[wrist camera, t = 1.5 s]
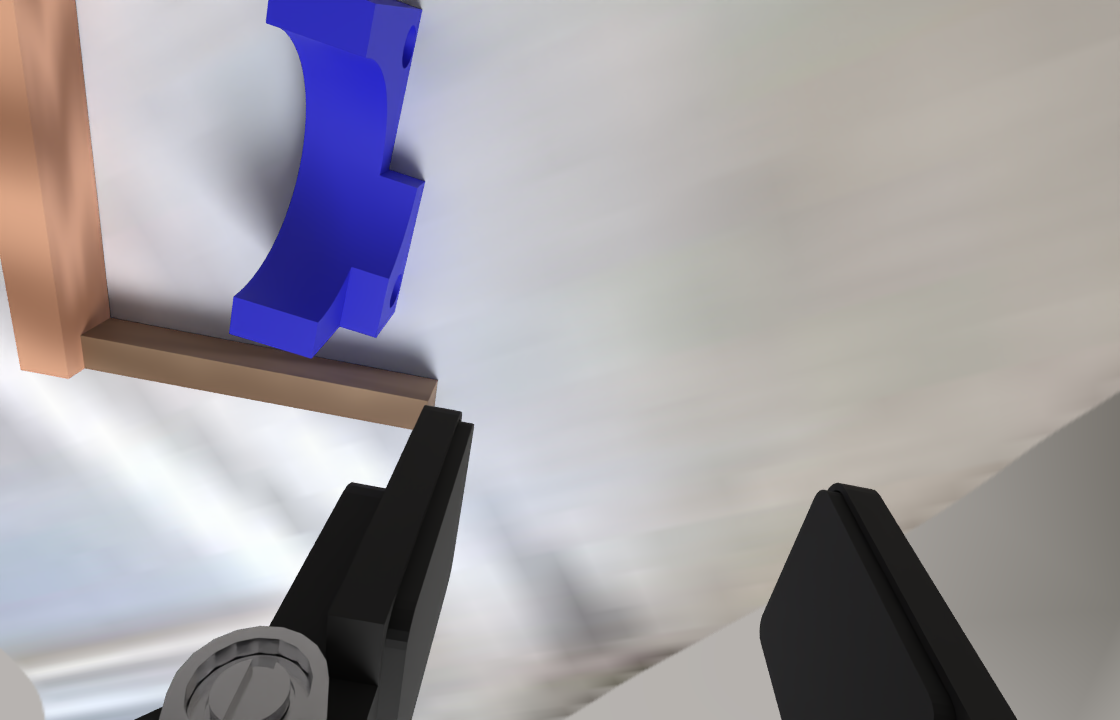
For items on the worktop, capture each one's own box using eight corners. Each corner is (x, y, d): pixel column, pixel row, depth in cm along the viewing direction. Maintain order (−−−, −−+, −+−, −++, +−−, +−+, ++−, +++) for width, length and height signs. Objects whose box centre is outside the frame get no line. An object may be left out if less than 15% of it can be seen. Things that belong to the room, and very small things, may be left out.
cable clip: (395, 310, 30) (352, 371, 25) (295, 278, 30) (229, 333, 24) (462, 23, 25) (425, 21, 20) (343, -19, 25) (272, -34, 19)
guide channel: (-13, -240, 22) (-97, -278, 19) (501, -127, 23) (488, -148, 20) (70, 340, 31) (20, 369, 29) (434, 409, 32) (419, 444, 29)
